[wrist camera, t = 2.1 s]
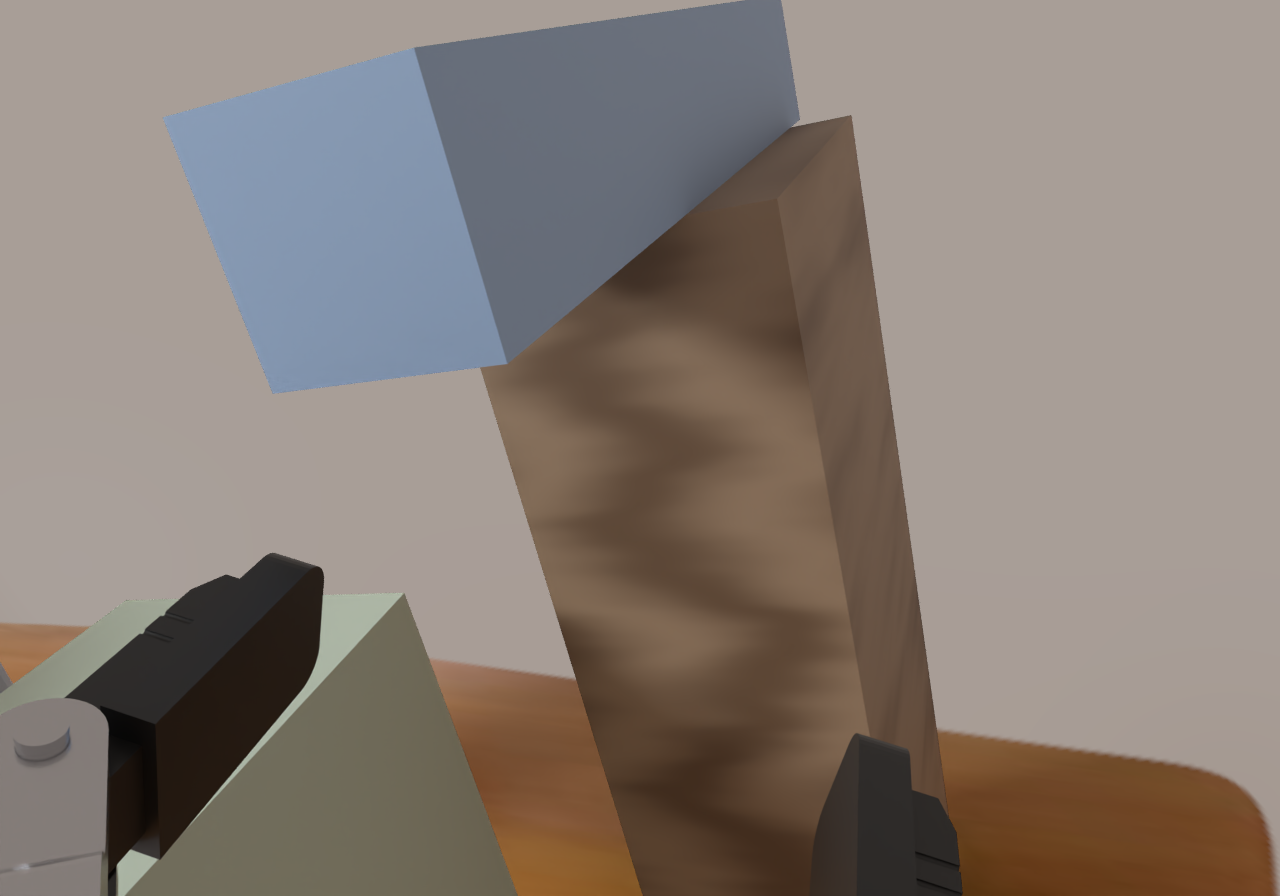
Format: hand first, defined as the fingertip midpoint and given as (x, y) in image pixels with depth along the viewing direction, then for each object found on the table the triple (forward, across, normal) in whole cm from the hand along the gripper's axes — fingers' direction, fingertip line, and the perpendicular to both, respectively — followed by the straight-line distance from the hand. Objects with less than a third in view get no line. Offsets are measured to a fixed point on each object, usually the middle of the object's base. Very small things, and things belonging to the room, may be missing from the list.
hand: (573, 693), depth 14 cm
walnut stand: (+17, +11, -25) cm, 32 cm away
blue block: (+13, -3, +4) cm, 14 cm away
